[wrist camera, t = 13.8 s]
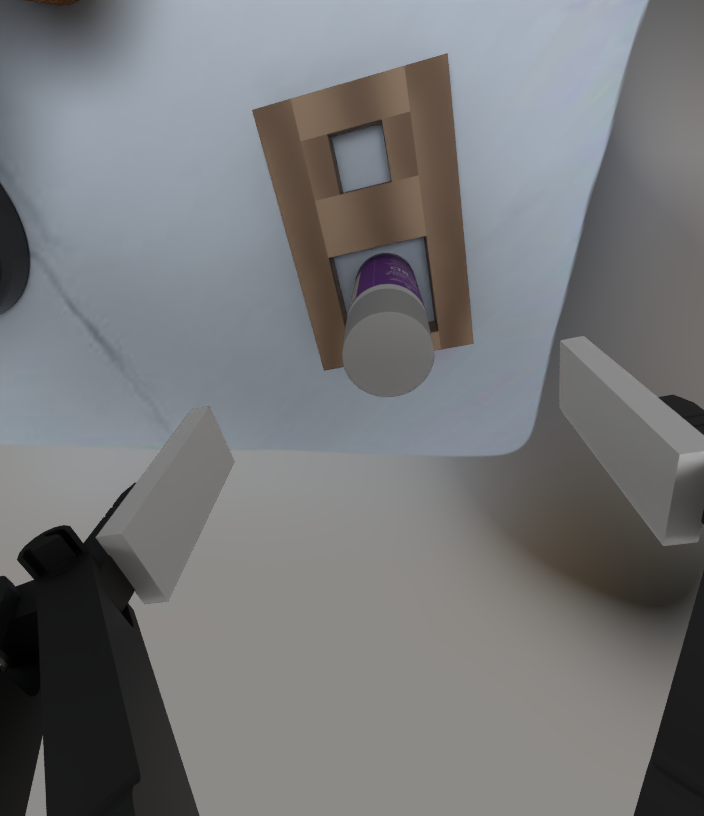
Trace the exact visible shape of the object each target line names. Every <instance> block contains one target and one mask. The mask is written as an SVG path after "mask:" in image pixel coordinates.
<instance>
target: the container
mask: <svg viewBox="0 0 704 816" xmlns="http://www.w3.org/2000/svg"><path fill="white" fill-rule="evenodd" d="M342 360H343V365H344V368H345V371H346V373H347V375H348V376H349V378H350V379H351V381H352V382H353V383H354V384H355V385H356V386H357V387H359V388H360V389H362V390H363V391H365V392H367V393H369V394H372V395H375V396H381V397H394V396H400V395H403V394H406V393H408V392H410V391H412V390H413V389H415V388H416V387H418V386H419V385H420V384H421V383H422V382H423V381H424V380H425V379H426V377H427V376H428V374H429V372H430V370H431V368H432V365H433V361H434V346H433V342H432V337H431V333H430V328H429V324H428V319H427V314H426V310H425V307H424V304H423V301H422V298H421V295H420V292H419V288H418V285H417V282H416V279H415V276H414V273H413V271H412V269H411V267H410V265H409V264H408V263H407V262H406V261H405V260H404V259H403V258H401V257H400V256H398V255H395V254H391V253H381V254H377V255H374V256H372V257H371V258H369V259H368V260H366V261H365V262H364V263H363V265H362V266H361V267H360V269H359V271H358V274H357V277H356V281H355V285H354V289H353V294H352V298H351V302H350V307H349V311H348V315H347V322H346V329H345V336H344V343H343V350H342Z"/></svg>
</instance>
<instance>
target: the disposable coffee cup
mask: <svg viewBox="0 0 704 816" xmlns="http://www.w3.org/2000/svg"><path fill="white" fill-rule="evenodd" d="M26 1H34V2H42V3H49V4H54V5H68V4H72V3H74V2H76V1H78V0H26Z"/></svg>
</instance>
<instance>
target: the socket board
mask: <svg viewBox="0 0 704 816" xmlns="http://www.w3.org/2000/svg"><path fill="white" fill-rule="evenodd" d="M252 111H253V115H254V118H255V122H256V126H257V129H258V133H259V137H260V140H261V144H262V147H263V151H264V155H265V158H266V162H267V166H268V169H269V173H270V176H271V180H272V184H273V187H274V191H275V194H276V198H277V202H278V205H279V209H280V213H281V216H282V220H283V223H284V227H285V231H286V234H287V238H288V242H289V245H290V249H291V252H292V256H293V260H294V263H295V267H296V270H297V274H298V278H299V281H300V285H301V289H302V292H303V296H304V299H305V303H306V307H307V310H308V314H309V318H310V321H311V325H312V328H313V332H314V336H315V339H316V343H317V347H318V350H319V354H320V357H321V361H322V365H323V368H324V370H330V369H335V368H341V367H344V365H343V360H342V350H343V343H344V336H345V329H346V322H347V314H346V310H345V306H344V302H343V297H342V293H341V289H340V284H339V280H338V276H337V271H336V267H335V263H334V259H333V257H334V256H339V255H343V254H348V253H352V252H357V251H361V250H366V249H370V248H374V247H379V246H383V245H388V244H392V243H397V242H401V241H406V240H410V239H415V238H419V237H424V241H425V248H426V256H427V263H428V271H429V279H430V286H431V294H432V301H433V309H434V316H435V321H434V322H428V324H429V328H430V333H431V337H432V342H433V346H434V351H435V350H441V349H446V348H452V347H457V346H463V345H468V344H474V343H473V332H472V321H471V310H470V299H469V287H468V276H467V265H466V254H465V243H464V232H463V220H462V209H461V198H460V187H459V176H458V165H457V153H456V142H455V131H454V120H453V109H452V98H451V86H450V75H449V64H448V53H447V54H443V55H440V56H437V57H433V58H430V59H426V60H423V61H419V62H416V63H412V64H409V65H406V66H402V67H399V68H395V69H392V70H388V71H385V72H382V73H378V74H375V75H371V76H368V77H364V78H361V79H357V80H354V81H351V82H347V83H344V84H340V85H337V86H333V87H330V88H326V89H323V90H320V91H316V92H313V93H309V94H306V95H302V96H299V97H295V98H292V99H289V100H285V101H282V102H278V103H275V104H271V105H268V106H264V107H261V108H258V109H254V110H252ZM380 123H382V126H383V133H384V139H385V145H386V152H387V158H388V164H389V171H390V177H391V181H389V182H385V183H381V184H377V185H373V186H369V187H365V188H361V189H357V190H353V191H349V192H345V193H343V191H342V186H341V181H340V176H339V171H338V167H337V162H336V157H335V152H334V147H333V142H332V138H331V137H332V136H336V135H339V134H343V133H347V132H350V131H354V130H358V129H361V128H365V127H369V126H372V125H376V124H380Z"/></svg>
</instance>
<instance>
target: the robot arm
mask: <svg viewBox="0 0 704 816" xmlns="http://www.w3.org/2000/svg"><path fill="white" fill-rule="evenodd" d="M28 268H29V258H28V249H27V243H26V239H25V235H24V232H23V229H22V226H21V223H20V220H19V218H18V216H17V214H16V211H15V209H14V207H13V205H12V204H11V202H10V200H9V198H8V197H7V195H6V193H5V192H4V190H3V189H2V187H1V186H0V314H1V313H3V312H5V311H6V310H8V309H9V308H10V307H12V306H13V305H14V304H15V303H16V301H17V300H18V299H19V297H20V296H21V294H22V292H23V290H24V288H25V285H26V281H27V277H28ZM560 410H561V411H562V412H563V414H564V415H565V416H566V418H567V419H568V420H569V422H570V423H571V424H572V426H573V427H574V428H575V430H576V431H577V432H578V434H579V435H580V436H581V438H582V439H583V440H584V441H585V443H586V444H587V445H588V447H589V448H590V449H591V451H592V452H593V453H594V455H595V456H596V457H597V459H598V460H599V461H600V463H601V464H602V465H603V467H604V468H605V469H606V471H607V472H608V473H609V474H610V476H611V477H612V479H613V480H614V481H615V483H616V484H617V485H618V487H619V488H620V489H621V490H622V492H623V493H624V495H625V496H626V497H627V499H628V500H629V501H630V503H631V504H632V505H633V507H634V508H635V509H636V511H637V512H638V513H639V514H640V516H641V517H642V518H643V520H644V521H645V522H646V524H647V525H648V526H649V528H650V529H651V530H652V532H653V533H654V534H655V535H656V537H657V538H658V539H659V541H660V542H661V544H662V545H663V546H667V545H676V544H685V543H694V542H698V540H699V536H700V532H701V528H702V523H703V524H704V410H703V409H702V408H700V407H699V406H698V405H696V404H695V403H693V402H691V401H688V400H686V399H683V398H681V397H678V396H675V395H669V396H663V397H657V396H655V395H654V394H653V393H652V392H651V391H650V390H648V389H647V388H646V387H645V386H643V385H642V384H641V383H640V382H639V381H637V380H636V379H635V378H634V377H633V376H631V375H630V374H629V373H628V372H627V371H625V370H624V369H623V368H622V367H620V366H619V365H618V364H617V363H616V362H614V361H613V360H612V359H611V358H609V357H608V356H607V355H606V354H605V353H604V352H602V351H601V350H599V348H597V347H596V346H595V345H594V344H593V343H591V342H590V341H589V340H588V339H586V338H585V337H584V336H582V337H577V338H571V339H566V340H561V341H560ZM233 464H234V459H233V457H232V455H231V453H230V450H229V448H228V446H227V444H226V441H225V439H224V437H223V435H222V433H221V430H220V428H219V426H218V424H217V421H216V419H215V417H214V415H213V413H212V410H211V408H210V406H207V407H201V408H196V409H191V411H190V412H189V413H188V415H187V416H186V417H185V419H184V420H183V421H182V423H181V424H180V425H179V427H178V428H177V429H176V431H175V432H174V433H173V435H172V436H171V437H170V439H169V440H168V441H167V443H166V444H165V445H164V447H163V448H162V449H161V451H160V452H159V454H158V455H157V456H156V457H155V459H154V460H153V462H152V463H151V464H150V466H149V467H148V468H147V470H146V471H145V472H144V474H143V475H142V476H141V478H140V479H139V480H138V481H137V483H134V484H133V485H132V486H131V487H129V488H128V489H127V490H126V491H124V492H123V493H122V494H121V495H120V497H119V498H118V499H117V501H116V502H115V503H114V505H113V508H110V509H109V511H108V512H107V513H106V515H105V517H104V518H103V519H102V520H101V521H100V523H99V524H98V525H97V526H96V528H95V529H94V530H93V532H92V533H91V534H90V535H89V537H88V538H87V539H86V541H85V542H84V543H82V541H81V540H80V539H79V537H78V536H77V535H76V533H75V532H74V531H73V530H72V528H71V527H70V526H65V525H63V526H58V527H54V528H52V529H50V530H47V531H45V532H43V533H42V534H40V535H39V536H37V537H35V538H34V539H33V540H32V541H30V542H29V543H28V544H27V545H26V546H25V547H24V548H23V549H22V551H21V552H20V553H19V556H18V559H17V560H18V562H19V563H20V564H21V565H22V566H23V567H24V568H25V570H26V571H27V572H28V573H29V574H30V575H31V576H32V577H33V579H34V580H32V581H30V582H27V583H24V584H21V585H19V586H16V587H15V586H14V585H13V583H12V582H11V581H10V580H8V579H7V577H5V576H0V664H1V665H0V816H25V813H26V809H27V804H28V800H29V795H30V791H31V786H32V781H33V777H34V772H35V768H36V763H37V759H38V754H39V750H40V745H41V740H42V736H43V745H44V766H45V785H46V787H45V788H46V809H47V816H199V813H198V810H197V807H196V803H195V800H194V797H193V794H192V791H191V788H190V785H189V782H188V778H187V775H186V772H185V769H184V766H183V763H182V760H181V757H180V753H179V750H178V747H177V744H176V741H175V738H174V735H173V732H172V728H171V725H170V722H169V719H168V716H167V713H166V710H165V707H164V703H163V700H162V698H161V694H160V691H159V688H158V685H157V682H156V678H155V676H154V672H153V669H152V666H151V663H150V660H149V657H148V653H147V650H146V647H145V644H144V641H143V638H142V635H141V632H140V628H139V625H138V622H137V619H136V616H135V613H134V610H133V609H132V608H131V606H130V605H129V604H128V602H129V600H130V598H131V596H132V595H133V593H134V591H135V592H136V594H137V595H138V596H139V598H140V599H141V600H142V602H143V603H144V604H151V603H160V602H167V601H169V599H170V596H171V594H172V592H173V590H174V588H175V586H176V584H177V582H178V580H179V578H180V576H181V573H182V571H183V569H184V567H185V565H186V563H187V561H188V559H189V557H190V554H191V552H192V550H193V548H194V546H195V544H196V542H197V540H198V538H199V535H200V533H201V531H202V529H203V527H204V525H205V523H206V521H207V519H208V516H209V514H210V512H211V510H212V508H213V506H214V504H215V502H216V500H217V497H218V495H219V493H220V491H221V489H222V487H223V485H224V483H225V481H226V478H227V476H228V474H229V472H230V470H231V468H232V466H233ZM634 816H704V572H703V575H702V579H701V582H700V586H699V590H698V593H697V597H696V600H695V604H694V607H693V611H692V614H691V618H690V621H689V625H688V628H687V632H686V636H685V639H684V642H683V646H682V650H681V653H680V657H679V660H678V664H677V668H676V671H675V675H674V678H673V681H672V685H671V689H670V692H669V696H668V699H667V703H666V706H665V710H664V713H663V717H662V720H661V724H660V728H659V732H658V735H657V738H656V742H655V745H654V749H653V752H652V756H651V759H650V762H649V765H648V768H647V771H646V775H645V778H644V782H643V785H642V788H641V792H640V795H639V799H638V802H637V806H636V810H635V813H634Z"/></svg>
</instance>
